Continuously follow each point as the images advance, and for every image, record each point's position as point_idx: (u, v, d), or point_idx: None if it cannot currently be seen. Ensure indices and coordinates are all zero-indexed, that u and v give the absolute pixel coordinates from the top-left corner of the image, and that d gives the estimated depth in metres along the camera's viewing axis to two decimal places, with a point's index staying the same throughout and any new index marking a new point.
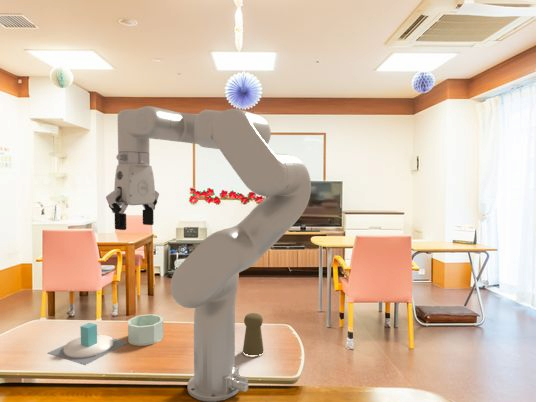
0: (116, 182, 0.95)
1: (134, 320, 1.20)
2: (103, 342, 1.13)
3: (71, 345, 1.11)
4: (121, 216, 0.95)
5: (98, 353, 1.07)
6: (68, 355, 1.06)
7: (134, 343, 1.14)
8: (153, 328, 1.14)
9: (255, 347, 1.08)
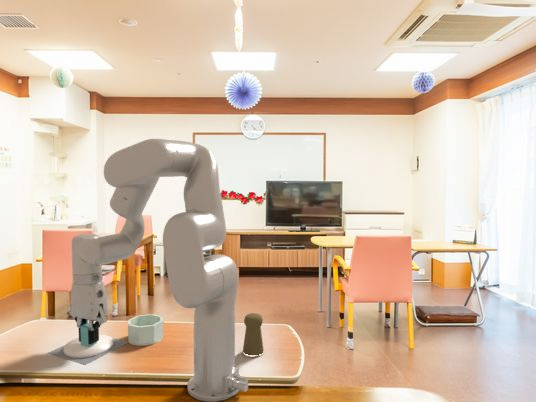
0: (97, 301, 1.08)
1: (134, 320, 1.20)
2: (103, 342, 1.13)
3: (71, 345, 1.11)
4: None
5: (98, 353, 1.07)
6: (68, 355, 1.06)
7: (134, 343, 1.14)
8: (153, 328, 1.14)
9: (255, 347, 1.08)
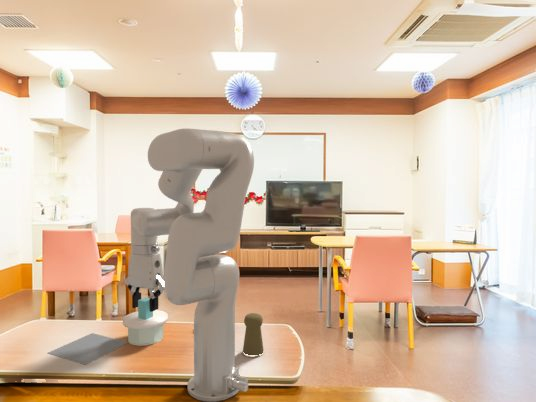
0: (155, 270, 1.14)
1: None
2: (158, 315, 1.19)
3: (129, 318, 1.17)
4: None
5: (156, 325, 1.13)
6: (129, 326, 1.12)
7: (134, 343, 1.14)
8: (153, 328, 1.14)
9: (255, 347, 1.08)
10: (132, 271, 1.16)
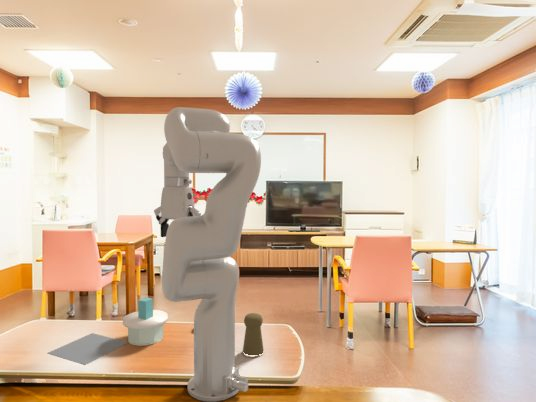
0: (187, 201, 1.18)
1: None
2: (158, 315, 1.19)
3: (129, 318, 1.17)
4: None
5: (156, 325, 1.13)
6: (129, 326, 1.12)
7: (134, 343, 1.14)
8: (153, 328, 1.14)
9: (255, 347, 1.08)
10: (165, 203, 1.20)
